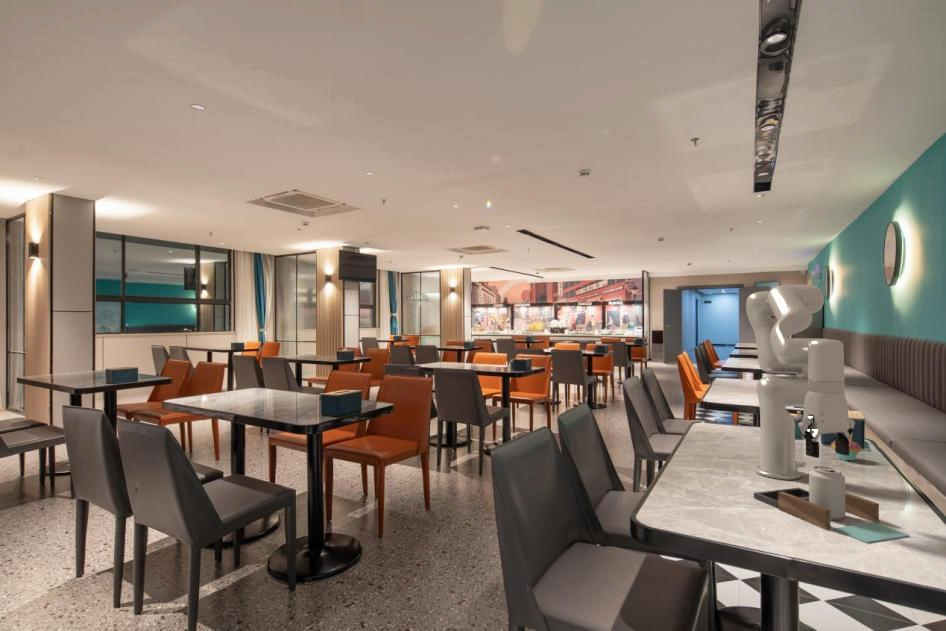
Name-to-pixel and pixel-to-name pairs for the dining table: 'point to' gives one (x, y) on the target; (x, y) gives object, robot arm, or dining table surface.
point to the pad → (871, 532)
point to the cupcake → (853, 450)
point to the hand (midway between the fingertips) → (827, 455)
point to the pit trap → (772, 496)
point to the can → (828, 490)
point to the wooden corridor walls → (821, 514)
